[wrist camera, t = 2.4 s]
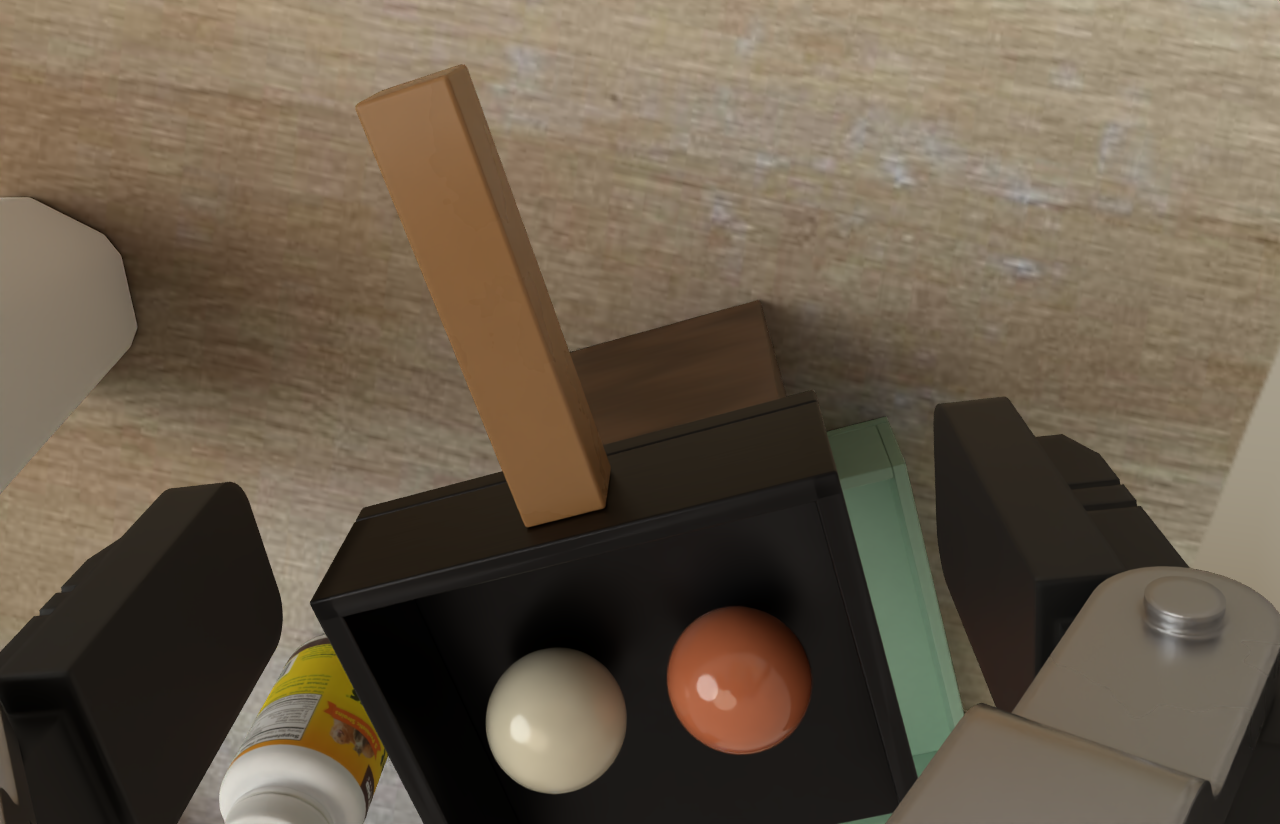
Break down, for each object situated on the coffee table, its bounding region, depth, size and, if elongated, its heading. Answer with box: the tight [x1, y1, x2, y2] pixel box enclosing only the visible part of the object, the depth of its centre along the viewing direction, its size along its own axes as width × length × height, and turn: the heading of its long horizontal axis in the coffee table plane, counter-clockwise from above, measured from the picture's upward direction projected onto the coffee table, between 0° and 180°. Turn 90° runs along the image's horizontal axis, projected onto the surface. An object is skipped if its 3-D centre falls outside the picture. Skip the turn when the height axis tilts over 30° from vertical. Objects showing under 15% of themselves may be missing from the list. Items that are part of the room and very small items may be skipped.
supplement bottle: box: [219, 635, 388, 824], centre depth 43 cm, size 6×6×10 cm
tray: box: [827, 417, 964, 824], centre depth 44 cm, size 15×17×4 cm
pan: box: [310, 64, 918, 824], centre depth 21 cm, size 10×19×4 cm, turn 17°
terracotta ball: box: [667, 605, 813, 755], centre depth 22 cm, size 3×3×3 cm
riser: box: [570, 300, 786, 445], centre depth 33 cm, size 8×4×18 cm, turn 107°
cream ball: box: [485, 647, 627, 794], centre depth 23 cm, size 3×3×3 cm
